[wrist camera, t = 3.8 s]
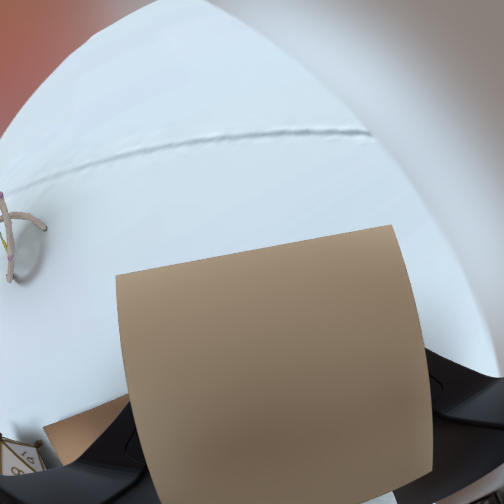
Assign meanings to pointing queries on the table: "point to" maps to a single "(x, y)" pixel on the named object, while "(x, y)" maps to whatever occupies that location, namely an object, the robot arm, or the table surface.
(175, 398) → the maple pillar
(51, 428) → the walnut slab
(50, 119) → the table surface
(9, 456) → the game die
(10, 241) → the dna model
